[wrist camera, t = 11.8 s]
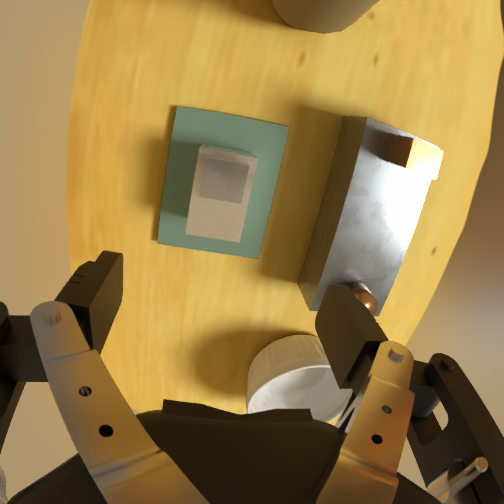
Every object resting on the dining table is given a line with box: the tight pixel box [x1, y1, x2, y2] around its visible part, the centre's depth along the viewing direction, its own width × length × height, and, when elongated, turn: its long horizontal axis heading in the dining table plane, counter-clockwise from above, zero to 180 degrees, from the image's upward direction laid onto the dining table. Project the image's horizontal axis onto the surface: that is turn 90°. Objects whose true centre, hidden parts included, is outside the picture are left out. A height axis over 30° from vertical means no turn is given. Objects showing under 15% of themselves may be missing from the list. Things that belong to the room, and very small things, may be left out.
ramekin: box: [246, 335, 353, 423], centre depth 36 cm, size 13×13×7 cm
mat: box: [157, 106, 290, 259], centre depth 28 cm, size 13×10×1 cm
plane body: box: [298, 116, 444, 317], centre depth 27 cm, size 18×8×9 cm, turn 169°
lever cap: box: [185, 144, 258, 242], centre depth 25 cm, size 7×4×5 cm, turn 169°
